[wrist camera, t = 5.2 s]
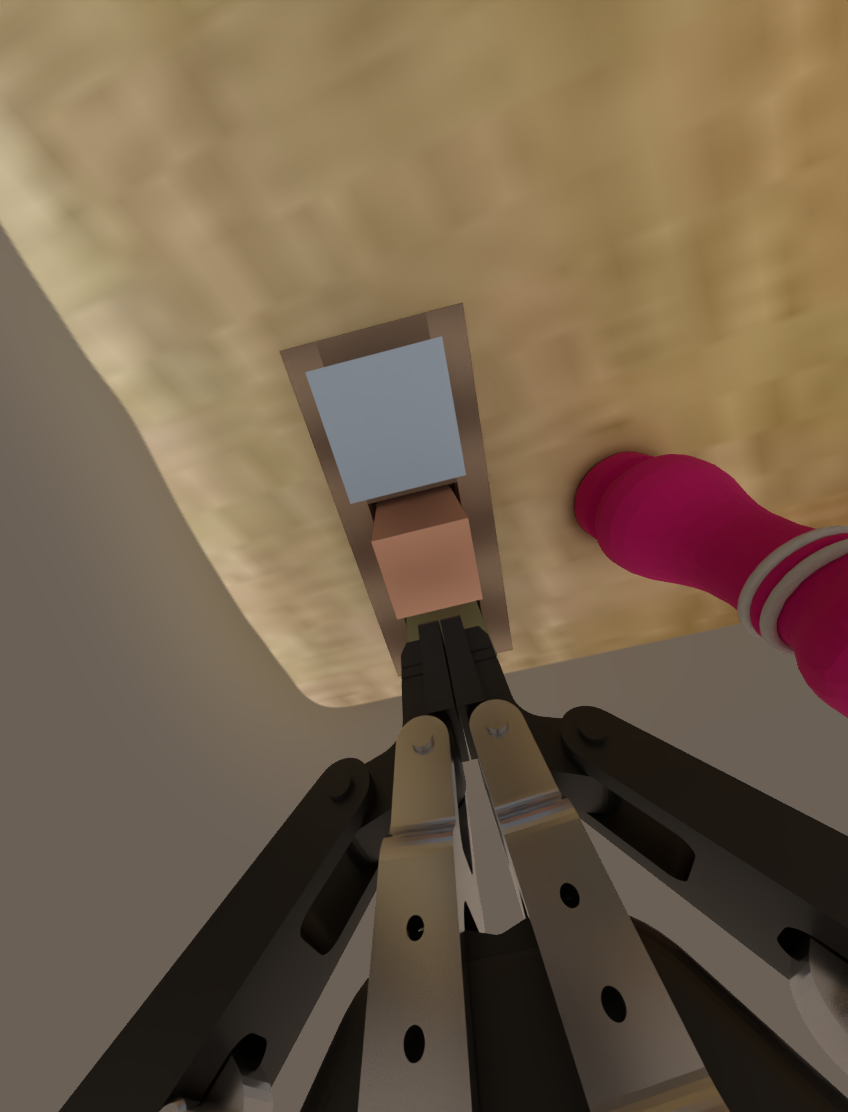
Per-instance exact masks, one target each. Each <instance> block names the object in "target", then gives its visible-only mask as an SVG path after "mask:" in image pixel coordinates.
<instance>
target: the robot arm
mask: <svg viewBox="0 0 848 1112" xmlns="http://www.w3.org/2000/svg"><path fill="white" fill-rule="evenodd" d="M440 623H441V628H442V632H441V628H440V624H439V621H438V620H435V621H431V622H427V623H422V624H418V631H419V640H416V641H412V642H407V643H406V645H405V647H404V649H403V651H402V654H401V669H402V670H401V676H402V705H403V726H402V729H401V731H400V732H399V734H398V737H397V740H396V742H395V743H394V744H393V745H392V746H391V747H390V748H389V749H388V750H387V751H386V752H384V753H383V754H381V755H379V756H378V757H376V758H374V759H373V760H371V761H369V762H367V763H366V764H364V763H363V762H362V761H360V760H358V759H355V758H346V759H342V760H339V761H337V762H335V763H334V764H332V765H331V766H330V767H328V769H326V770H325V772H324V773H323V774H322V775H321V776H320V778H319V779H318V780H317V782H316V783H315V784H314V785H313V787H312V788H311V789H310V790H309V792H308V793H307V794H306V796H305V797H304V798H303V800H302V801H301V802H300V803H299V805H298V806H297V807H296V808H295V810H294V811H293V812H292V814H291V815H290V816H289V817H288V819H287V820H286V821H285V822H284V824H283V825H282V827H281V828H280V829H279V830H278V831H277V833H276V834H275V835H274V837H273V838H272V839H271V840H270V842H269V843H268V844H267V846H266V847H265V848H264V849H263V851H262V852H261V853H260V854H259V856H258V857H257V858H256V860H255V861H254V862H253V864H252V865H251V866H250V867H249V869H248V870H247V871H246V873H245V874H244V875H243V876H242V878H241V879H240V880H239V881H238V883H237V884H236V885H235V886H234V888H233V889H232V890H231V892H230V893H229V894H228V895H227V897H226V898H225V899H224V901H223V902H222V903H221V904H220V906H219V907H218V908H217V910H216V911H215V912H214V913H213V915H212V916H211V917H210V919H209V920H208V921H207V923H206V924H205V925H204V926H203V928H202V929H201V930H200V931H199V933H198V934H197V935H196V936H195V938H194V939H193V940H192V942H191V943H190V944H189V945H188V947H187V948H186V949H185V951H184V952H183V953H182V954H181V956H180V957H179V958H178V960H177V961H176V962H175V963H174V965H173V966H172V967H171V968H170V970H169V971H168V972H167V974H166V975H165V976H164V977H163V979H162V980H161V981H160V982H159V984H158V985H157V986H156V988H155V989H154V990H153V991H152V993H151V994H150V995H149V997H148V998H147V999H146V1000H145V1002H144V1003H143V1004H142V1006H141V1007H140V1008H139V1010H138V1011H137V1012H136V1013H135V1015H134V1016H133V1017H132V1018H131V1020H130V1021H129V1022H128V1023H127V1025H126V1026H125V1027H124V1029H123V1030H122V1031H121V1032H120V1034H119V1035H118V1036H117V1038H116V1039H115V1040H114V1041H113V1043H112V1044H111V1045H110V1047H109V1048H108V1049H107V1050H106V1052H105V1053H104V1054H103V1055H102V1057H101V1058H100V1059H99V1061H98V1062H97V1063H96V1064H95V1066H94V1067H93V1068H92V1070H91V1071H90V1072H89V1073H88V1075H87V1076H86V1077H85V1079H84V1080H83V1081H82V1082H81V1084H80V1085H79V1086H78V1087H77V1089H76V1090H75V1091H74V1093H73V1094H72V1095H71V1096H70V1098H69V1099H68V1100H67V1102H66V1103H65V1104H64V1105H63V1107H62V1108H61V1109H60V1111H59V1112H273V1097H272V1091H271V1087H272V1085H273V1083H274V1081H275V1079H276V1077H277V1075H278V1074H279V1072H280V1070H281V1068H282V1066H283V1064H284V1062H285V1060H286V1059H287V1057H288V1055H289V1053H290V1051H291V1049H292V1047H293V1045H294V1043H295V1042H296V1040H297V1038H298V1036H299V1034H300V1032H301V1030H302V1029H303V1026H304V1025H305V1023H306V1021H307V1019H308V1017H309V1015H310V1014H311V1012H312V1010H313V1008H314V1006H315V1004H316V1002H317V1000H318V999H319V997H320V995H321V993H322V991H323V989H324V987H325V985H326V984H327V982H328V980H329V978H330V976H331V974H332V972H333V970H334V969H335V967H336V965H337V963H338V961H339V959H340V957H341V955H342V954H343V952H344V950H345V948H346V946H347V944H348V942H349V940H350V939H351V937H352V935H353V933H354V931H355V929H356V927H357V925H358V923H359V922H360V920H361V918H362V916H363V914H364V912H365V910H366V909H367V907H368V905H369V903H370V901H371V899H372V897H373V896H374V894H375V892H376V902H375V913H374V925H373V937H372V949H371V960H370V972H369V978H368V979H367V980H366V981H365V983H364V985H363V986H362V987H361V988H360V990H359V991H358V993H357V994H356V996H355V997H354V999H353V1001H352V1002H351V1004H350V1006H349V1008H348V1009H347V1011H346V1013H345V1015H344V1017H343V1019H342V1021H341V1023H340V1025H339V1027H338V1030H337V1032H336V1034H335V1036H334V1039H333V1041H332V1043H331V1045H330V1047H329V1049H328V1052H327V1054H326V1056H325V1058H324V1060H323V1062H322V1065H321V1067H320V1069H319V1071H318V1073H317V1076H316V1078H315V1080H314V1082H313V1084H312V1086H311V1089H310V1091H309V1093H308V1095H307V1097H306V1100H305V1102H304V1104H303V1106H302V1108H301V1111H300V1112H848V1098H847V1097H845V1096H844V1095H843V1094H842V1093H841V1092H840V1091H839V1090H838V1089H837V1088H836V1087H834V1086H833V1085H832V1084H831V1083H830V1082H829V1081H828V1080H827V1079H826V1078H824V1077H823V1076H822V1075H821V1074H820V1073H819V1072H818V1071H817V1070H816V1069H814V1068H813V1067H812V1066H811V1065H810V1064H809V1063H808V1062H807V1061H806V1060H805V1059H803V1058H802V1057H801V1056H800V1055H799V1054H798V1053H797V1052H796V1051H795V1050H794V1049H792V1048H791V1047H790V1046H789V1045H788V1044H787V1043H786V1042H785V1041H784V1040H782V1039H781V1038H780V1037H779V1036H778V1035H777V1034H776V1033H775V1032H774V1031H773V1030H771V1029H770V1028H769V1027H768V1026H767V1025H766V1024H765V1023H764V1022H762V1021H761V1020H760V1019H759V1018H758V1017H757V1016H756V1015H755V1014H754V1013H752V1011H750V1010H749V1009H748V1008H747V1007H746V1006H745V1005H744V1004H743V1003H741V1002H740V1001H739V1000H738V999H737V998H736V997H735V996H734V995H733V994H732V993H731V992H729V991H728V990H727V989H726V988H725V987H724V986H723V985H722V984H721V983H719V982H718V981H717V980H716V979H715V978H714V977H713V976H712V975H711V974H709V973H708V972H707V971H706V970H705V969H704V968H703V967H702V966H701V965H700V964H698V963H697V962H696V961H695V960H694V959H693V958H692V957H691V956H690V955H688V954H687V953H686V952H685V951H684V950H683V949H682V948H680V947H679V946H678V945H677V944H676V943H674V942H673V941H671V940H670V939H669V938H667V937H666V936H665V935H664V934H662V933H661V932H659V931H658V930H656V929H654V928H653V927H651V926H649V925H648V924H646V923H644V922H642V921H640V920H638V919H636V918H633V917H632V916H629V915H628V913H627V911H626V909H625V907H624V905H623V903H622V901H621V899H620V897H619V895H618V893H617V891H616V889H615V887H614V885H613V883H612V881H611V879H610V877H609V875H608V873H607V871H606V869H605V867H604V865H603V864H602V862H601V859H600V857H599V855H598V853H597V851H596V849H595V847H594V845H593V843H592V842H591V839H590V837H589V835H588V834H587V832H586V829H585V827H584V826H583V824H582V822H581V819H582V820H583V821H584V822H586V823H587V824H588V825H590V826H591V827H592V828H594V829H595V830H596V831H598V832H599V833H600V834H601V835H602V836H604V837H605V838H606V839H608V840H609V841H610V842H612V843H613V844H614V845H615V846H617V847H618V848H619V849H621V850H622V851H623V852H624V853H626V854H627V855H628V856H630V857H631V858H632V859H634V860H635V861H636V862H637V863H639V864H640V865H641V866H643V867H644V868H645V869H647V870H648V871H649V872H650V873H652V874H653V875H654V876H655V877H657V878H658V879H659V880H661V881H662V882H663V883H665V884H666V885H667V886H668V887H670V888H671V889H672V890H674V891H675V892H676V893H677V894H679V895H680V896H681V897H683V898H684V899H685V900H687V901H688V902H689V903H690V904H692V905H693V906H694V907H696V908H697V909H698V910H700V911H701V912H702V913H703V914H705V915H706V916H707V917H709V918H710V919H711V920H712V921H714V922H715V923H716V924H718V925H719V926H720V927H721V928H723V929H724V930H725V931H727V932H728V933H729V934H731V935H732V936H733V937H734V938H736V939H737V940H738V941H740V942H741V943H742V944H744V945H745V946H746V947H747V948H749V949H750V950H751V951H753V952H754V953H755V954H756V955H758V956H759V957H760V958H762V959H763V960H764V961H765V962H767V963H768V964H769V965H771V966H772V967H773V968H775V969H776V970H777V971H778V972H780V973H781V974H782V975H784V976H785V977H787V979H789V980H790V986H791V991H792V994H793V998H794V1001H795V1003H796V1006H797V1008H798V1010H799V1013H800V1015H801V1016H802V1018H803V1020H804V1022H805V1024H806V1026H807V1027H808V1029H809V1030H810V1032H811V1033H812V1035H813V1036H814V1038H815V1039H816V1040H817V1042H818V1043H819V1044H820V1046H821V1047H822V1048H823V1050H824V1051H825V1052H826V1053H827V1054H828V1055H829V1057H830V1058H831V1059H832V1060H833V1061H834V1062H835V1063H836V1064H837V1065H838V1066H839V1067H840V1068H841V1069H842V1070H843V1071H844V1072H845V1073H846V1074H847V1075H848V836H846V835H844V834H842V833H840V832H838V831H836V830H835V829H833V828H831V827H828V826H827V825H825V824H823V823H821V822H819V821H817V820H815V819H813V818H811V817H809V816H807V815H805V814H804V813H802V812H800V811H798V810H796V809H794V808H792V807H790V806H788V805H786V804H784V803H782V802H780V801H778V800H777V799H774V798H773V797H770V796H769V795H767V794H765V793H763V792H761V791H759V790H757V789H755V788H753V787H751V786H749V785H747V784H746V783H744V782H741V781H740V780H738V779H736V778H734V777H732V776H730V775H728V774H726V773H724V772H722V771H720V770H718V769H716V768H715V767H712V766H711V765H709V764H707V763H704V762H703V761H701V760H699V759H697V758H695V757H693V756H691V755H689V754H687V753H686V752H684V751H682V750H680V749H678V748H676V747H674V746H672V745H670V744H668V743H666V742H664V741H662V740H660V739H658V738H656V737H655V736H653V735H651V734H649V733H647V732H645V731H643V730H641V729H639V728H637V727H635V726H633V725H631V724H629V723H627V722H626V721H624V720H622V719H620V718H618V717H616V716H614V715H612V714H610V713H608V712H606V711H604V710H602V709H599V708H596V707H591V706H580V707H576V708H573V709H571V710H569V711H568V712H567V713H566V714H565V715H564V716H563V718H551V717H541V716H536V715H533V714H531V713H528V712H527V711H525V710H523V709H522V708H521V707H519V706H518V704H517V703H516V702H515V701H514V699H513V697H512V695H511V692H510V690H509V687H508V685H507V682H506V679H505V677H504V674H503V672H502V669H501V666H500V664H499V661H498V658H497V656H496V653H495V651H494V649H493V645H492V643H491V640H490V638H489V635H488V634H487V633H486V632H485V631H484V630H483V629H482V628H481V627H479V626H475V627H471V628H466V629H464V627H463V624H462V620H461V617H460V615H456V616H452V617H447V618H443V619H440ZM442 633H443V636H442ZM443 638H444V640H443ZM463 729H464V731H463ZM464 733H465V736H464ZM465 737H466V740H467V744H468V748H469V751H470V755H471V759H472V760H473V759H477V758H478V762H479V766H480V770H481V774H482V778H483V781H484V785H485V789H486V792H487V796H488V799H489V803H490V806H491V809H492V813H493V815H494V819H495V822H496V826H497V829H498V832H499V835H500V839H501V842H502V846H503V849H504V852H505V855H506V859H507V862H508V865H509V869H510V872H511V875H512V879H513V882H514V886H515V890H516V893H517V896H518V900H519V903H520V907H521V910H522V913H523V917H524V920H523V921H521V922H520V923H518V924H516V925H515V926H513V927H512V928H510V929H509V930H507V931H506V932H504V933H502V934H499V935H492V934H487V933H485V929H484V921H483V914H482V908H481V901H480V896H479V891H478V886H477V879H476V872H475V863H474V854H473V845H472V837H471V828H470V819H469V811H468V810H469V809H468V801H467V792H466V781H465V776H464V770H463V765H462V762H465V761H469V756H468V751H467V747H466V741H465Z"/></svg>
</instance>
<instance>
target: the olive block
mask: <svg viewBox="0 0 848 1112" xmlns="http://www.w3.org/2000/svg"><path fill="white" fill-rule="evenodd" d="M456 615H460V617H461V620H462V624H463V627H464V629H466V628H471V627H475V626H479V627H481V628H482V629H483V630H484V631H485V632H486V633H487V634H488V635H489V632H488V630H487V627H486V625H485V622H484V620H483V617H482V615H481V612H480V609H479V607H478V604H477V602H476V601H473V602H469V603H464V604H460V605H456V606H452V607H448V608H443V609H439V610H435V611H431V612H427V613H422V614H418V615H414V616H410V617H406V620H407V638H408V642H412V641H416V640H419V631H418V624H422V623H427V622H431V621H435V620H438V621H439V624H440V628H441V623H440V619H443V618H447V617H452V616H456ZM441 632H442V628H441ZM442 636H443V633H442ZM489 638H490V635H489ZM443 640H444V638H443ZM490 640H491V638H490ZM491 643H492V640H491ZM492 645H493V643H492ZM493 649H494V651H495V653H496V650H495V648H494V645H493ZM496 656H497V653H496ZM497 658H498V656H497Z"/></svg>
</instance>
